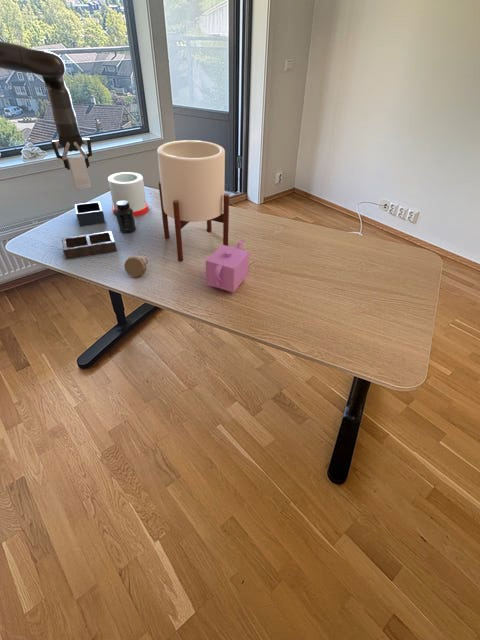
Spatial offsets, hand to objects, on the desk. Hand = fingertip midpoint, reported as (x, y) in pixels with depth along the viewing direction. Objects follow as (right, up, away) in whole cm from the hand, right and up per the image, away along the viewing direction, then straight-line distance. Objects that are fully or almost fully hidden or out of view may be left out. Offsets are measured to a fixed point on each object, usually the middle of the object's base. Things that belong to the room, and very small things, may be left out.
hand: (77, 168), depth 137 cm
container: (+14, -9, +24) cm, 29 cm away
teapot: (+61, -47, -16) cm, 78 cm away
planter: (+47, -30, +2) cm, 55 cm away
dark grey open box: (-1, -16, +14) cm, 22 cm away
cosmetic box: (0, -6, +5) cm, 8 cm away
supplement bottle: (+17, -23, +9) cm, 30 cm away
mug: (+28, -43, -14) cm, 53 cm away
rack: (+7, -33, -4) cm, 34 cm away
